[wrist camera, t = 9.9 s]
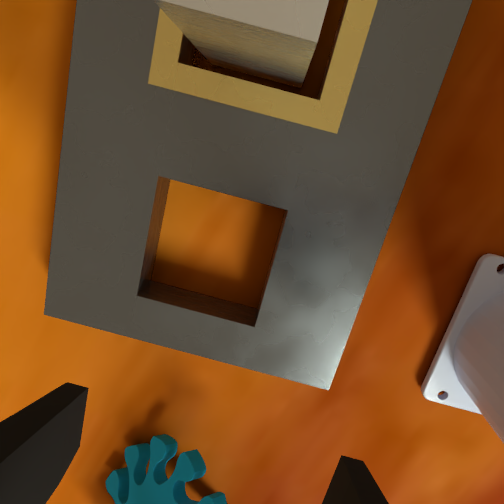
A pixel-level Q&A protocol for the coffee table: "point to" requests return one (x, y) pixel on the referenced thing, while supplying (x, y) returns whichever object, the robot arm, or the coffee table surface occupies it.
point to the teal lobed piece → (158, 475)
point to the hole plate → (239, 176)
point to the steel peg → (252, 34)
